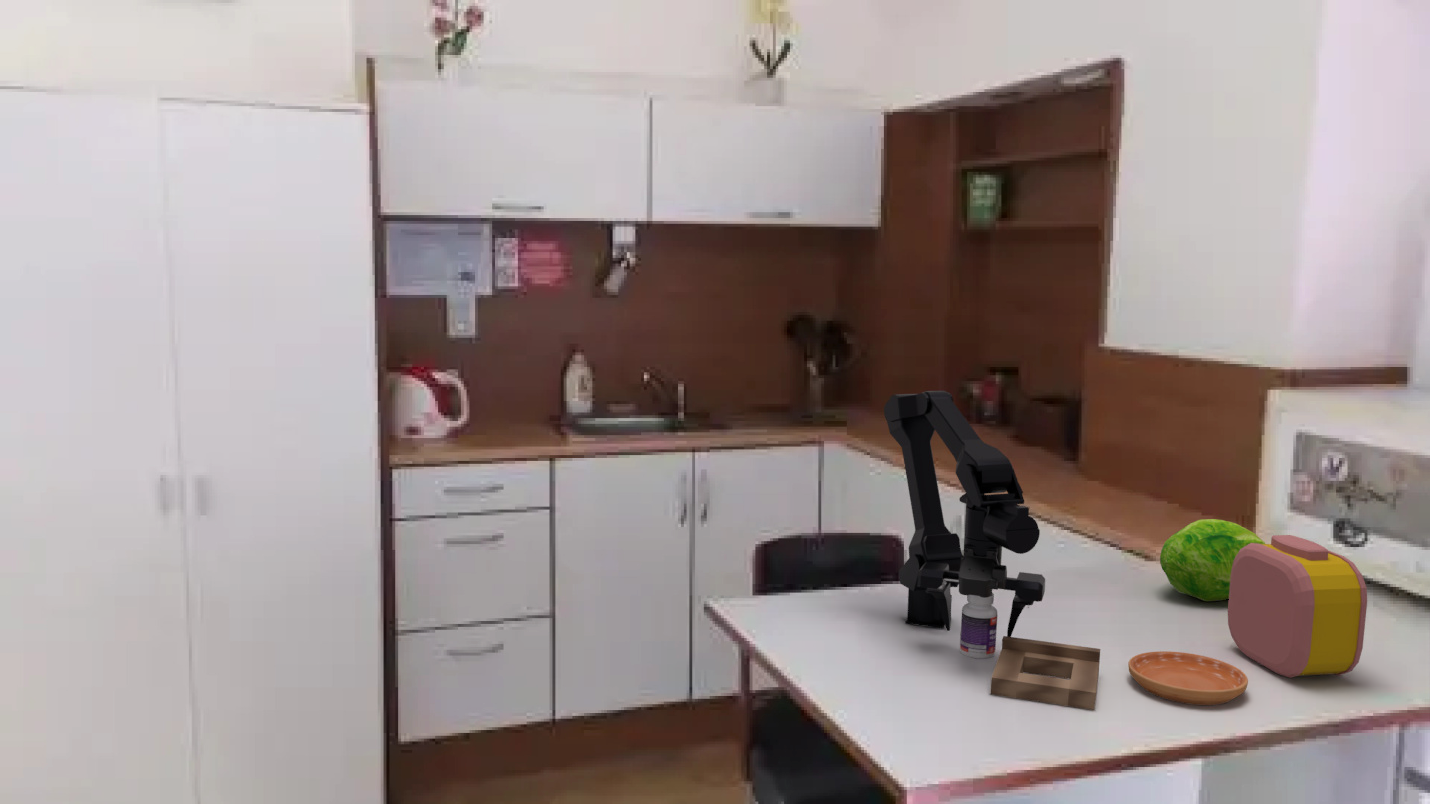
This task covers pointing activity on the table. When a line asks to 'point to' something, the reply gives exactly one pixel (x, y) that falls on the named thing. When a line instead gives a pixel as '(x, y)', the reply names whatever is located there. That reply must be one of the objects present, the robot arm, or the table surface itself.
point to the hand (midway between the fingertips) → (978, 634)
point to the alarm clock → (1297, 607)
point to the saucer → (1187, 677)
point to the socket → (1047, 672)
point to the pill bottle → (978, 627)
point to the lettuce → (1204, 557)
